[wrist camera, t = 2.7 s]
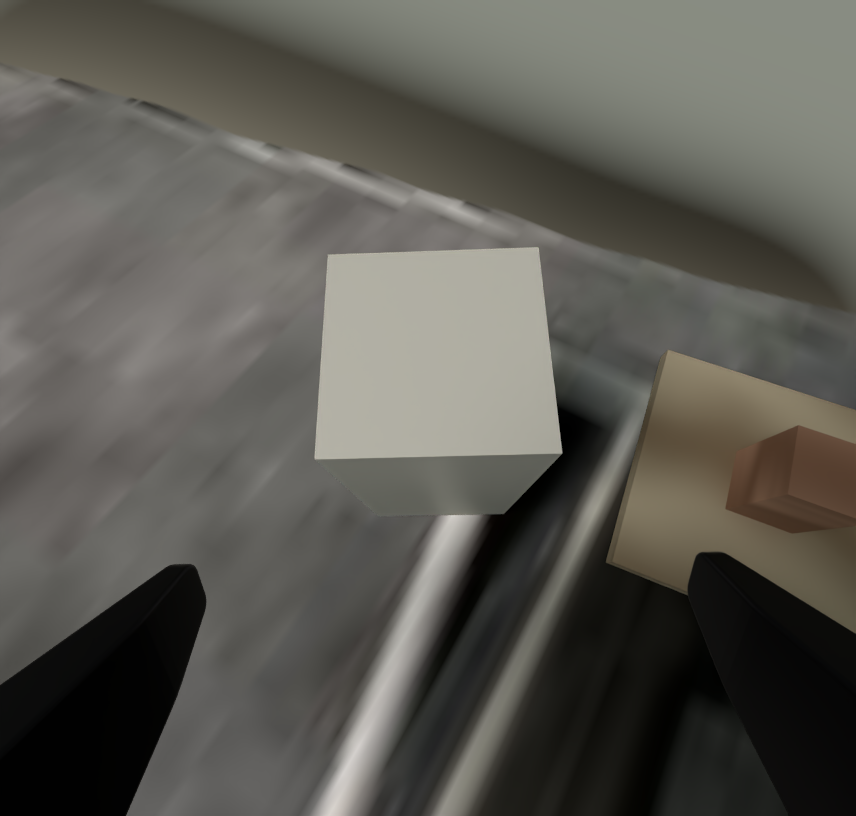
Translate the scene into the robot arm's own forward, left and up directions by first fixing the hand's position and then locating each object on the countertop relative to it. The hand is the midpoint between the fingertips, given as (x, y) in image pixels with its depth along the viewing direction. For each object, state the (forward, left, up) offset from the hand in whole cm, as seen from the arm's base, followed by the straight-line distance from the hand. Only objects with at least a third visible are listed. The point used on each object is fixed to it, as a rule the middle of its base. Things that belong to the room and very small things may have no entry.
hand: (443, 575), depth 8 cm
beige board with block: (-5, -13, -12) cm, 18 cm away
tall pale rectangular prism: (+4, -3, -12) cm, 13 cm away
